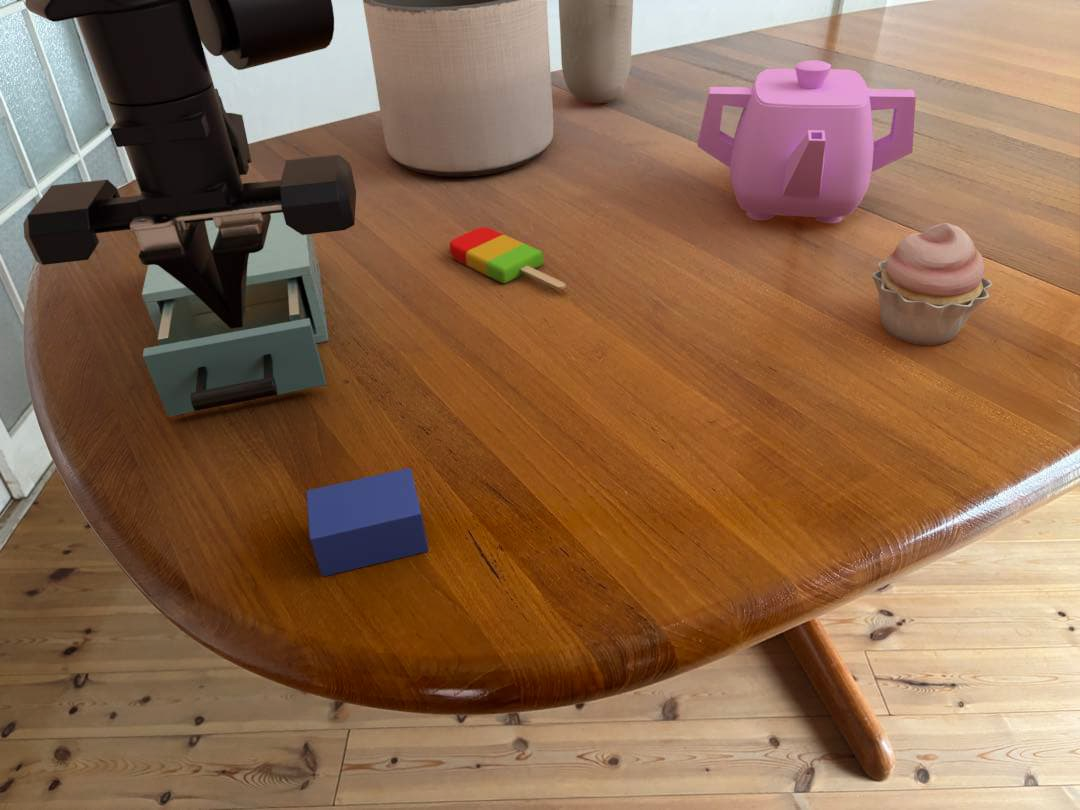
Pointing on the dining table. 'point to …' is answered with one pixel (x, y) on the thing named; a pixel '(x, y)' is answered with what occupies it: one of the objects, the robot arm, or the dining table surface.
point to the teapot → (806, 139)
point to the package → (365, 522)
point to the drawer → (235, 350)
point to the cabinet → (255, 272)
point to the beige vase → (596, 47)
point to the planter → (462, 82)
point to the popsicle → (500, 256)
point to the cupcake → (931, 285)
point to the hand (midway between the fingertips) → (237, 324)
